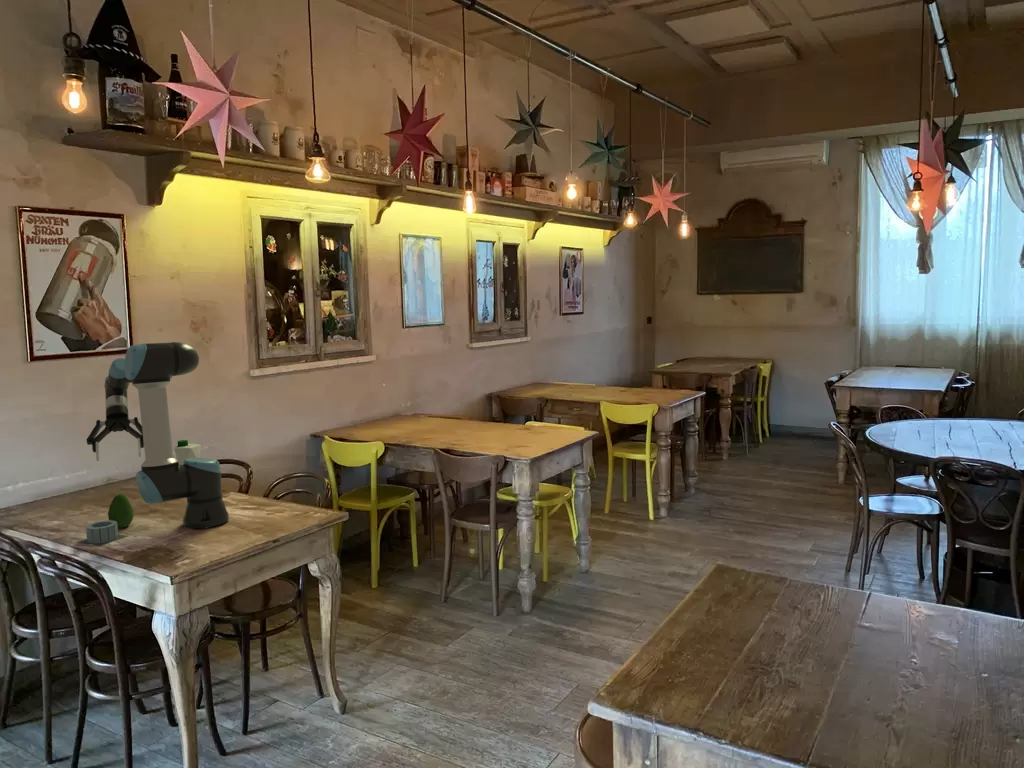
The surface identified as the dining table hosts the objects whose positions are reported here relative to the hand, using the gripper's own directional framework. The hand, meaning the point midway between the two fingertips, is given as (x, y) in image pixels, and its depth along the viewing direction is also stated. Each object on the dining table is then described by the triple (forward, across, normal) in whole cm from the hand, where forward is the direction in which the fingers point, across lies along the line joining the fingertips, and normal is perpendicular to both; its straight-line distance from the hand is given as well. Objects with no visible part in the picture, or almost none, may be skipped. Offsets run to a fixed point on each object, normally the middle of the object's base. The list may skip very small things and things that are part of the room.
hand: (118, 456), depth 270 cm
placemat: (+34, +6, +3) cm, 35 cm away
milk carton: (-8, -24, -41) cm, 48 cm away
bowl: (+34, +6, +3) cm, 35 cm away
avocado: (+26, 0, -6) cm, 27 cm away
